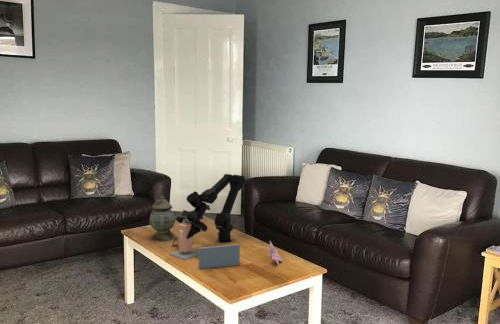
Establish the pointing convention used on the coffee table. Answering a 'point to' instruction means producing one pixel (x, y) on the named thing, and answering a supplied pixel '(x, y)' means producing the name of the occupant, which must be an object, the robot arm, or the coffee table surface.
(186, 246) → the salmon pink tall block
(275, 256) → the lily
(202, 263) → the screen
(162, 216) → the lidded urn
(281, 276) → the coffee table surface
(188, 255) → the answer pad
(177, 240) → the lion figurine
